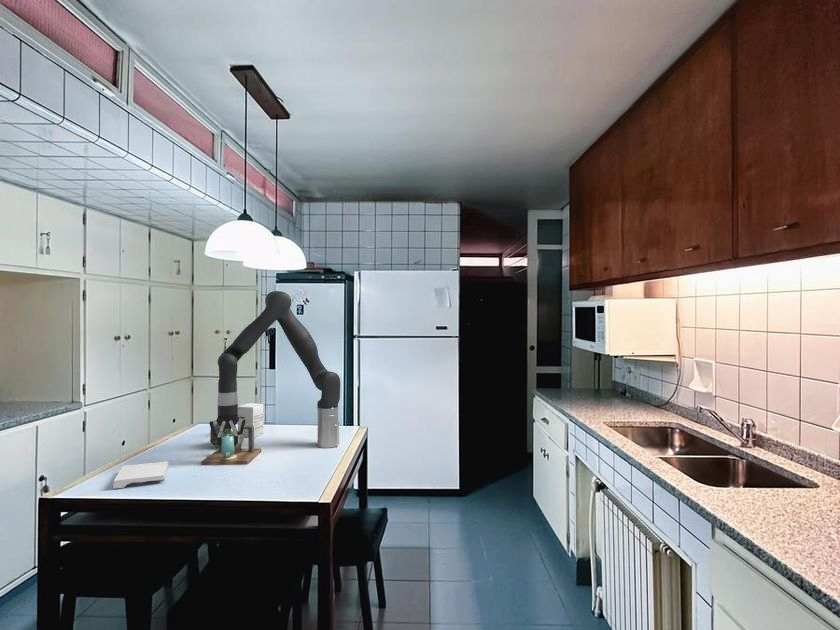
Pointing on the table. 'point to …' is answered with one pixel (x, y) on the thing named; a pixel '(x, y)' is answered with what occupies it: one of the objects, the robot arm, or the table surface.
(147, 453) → the table surface
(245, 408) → the supplement box
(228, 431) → the vegetable
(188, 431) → the table surface
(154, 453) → the table surface
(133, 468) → the food packaging
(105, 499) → the table surface
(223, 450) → the teal rounded body
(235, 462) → the board with gray uprights
